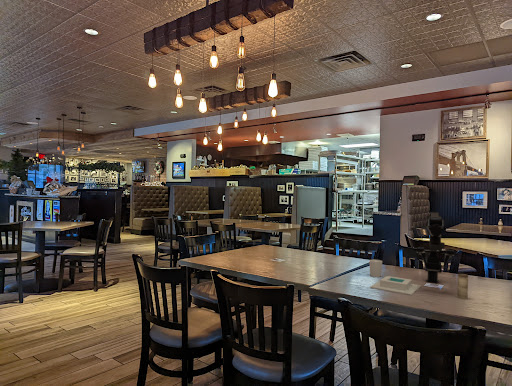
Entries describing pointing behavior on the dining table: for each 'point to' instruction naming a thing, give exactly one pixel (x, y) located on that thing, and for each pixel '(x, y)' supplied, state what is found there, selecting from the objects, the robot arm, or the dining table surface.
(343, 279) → the dining table surface
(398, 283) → the cream stepped platform
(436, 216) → the robot arm
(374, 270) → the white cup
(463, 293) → the tan cylinder
